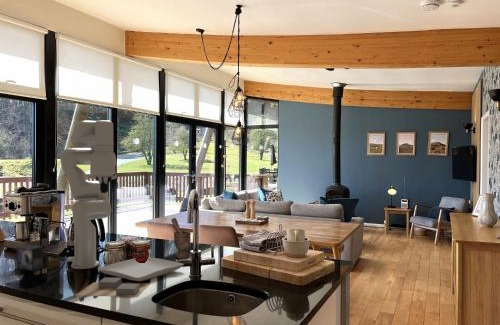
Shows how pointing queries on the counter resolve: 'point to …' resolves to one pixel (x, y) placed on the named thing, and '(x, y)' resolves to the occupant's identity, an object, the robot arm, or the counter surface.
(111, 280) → the tile
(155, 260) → the square plate
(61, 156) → the robot arm
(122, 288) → the tile
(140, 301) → the counter surface
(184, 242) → the mortar and pestle
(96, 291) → the cork mat
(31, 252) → the small box
